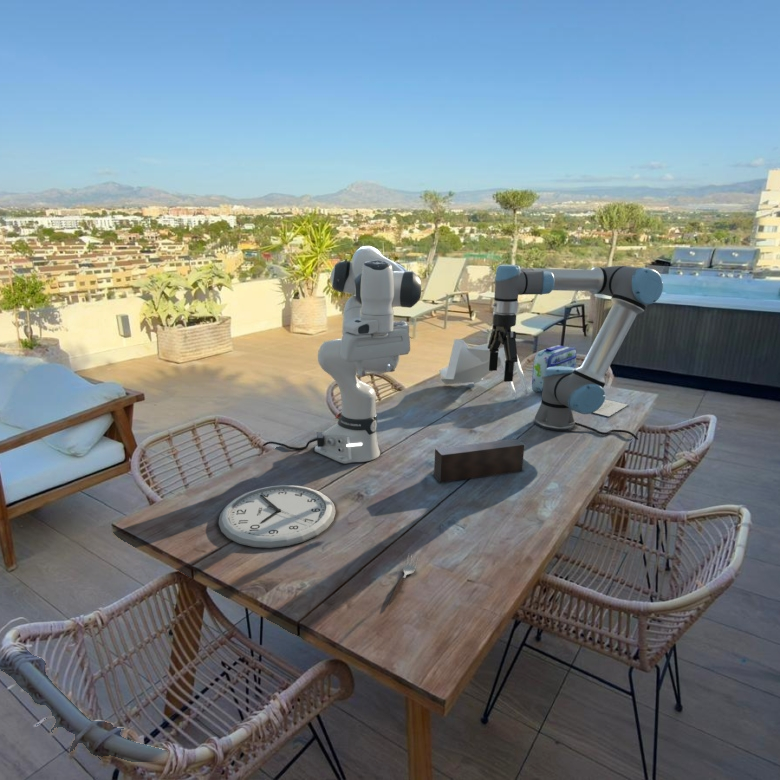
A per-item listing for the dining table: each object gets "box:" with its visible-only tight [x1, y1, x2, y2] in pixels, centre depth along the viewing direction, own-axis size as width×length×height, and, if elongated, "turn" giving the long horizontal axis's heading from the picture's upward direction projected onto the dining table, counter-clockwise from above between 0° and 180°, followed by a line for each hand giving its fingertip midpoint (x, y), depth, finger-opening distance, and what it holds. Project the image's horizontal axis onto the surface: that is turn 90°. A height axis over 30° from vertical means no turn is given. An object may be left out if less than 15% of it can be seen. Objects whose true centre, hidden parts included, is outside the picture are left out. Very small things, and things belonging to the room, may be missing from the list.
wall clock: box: [218, 484, 336, 549], centre depth 137 cm, size 30×2×30 cm
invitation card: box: [591, 398, 629, 418], centre depth 226 cm, size 21×1×15 cm
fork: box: [388, 554, 419, 606], centre depth 112 cm, size 3×16×2 cm, turn 160°
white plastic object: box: [438, 311, 531, 400], centre depth 245 cm, size 37×45×31 cm
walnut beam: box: [433, 438, 525, 484], centre depth 162 cm, size 28×5×9 cm, turn 108°
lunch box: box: [531, 345, 577, 393], centre depth 245 cm, size 26×11×21 cm, turn 134°
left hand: (376, 373), depth 144 cm, fingers open, 8 cm apart
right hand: (500, 375), depth 178 cm, fingers open, 13 cm apart
